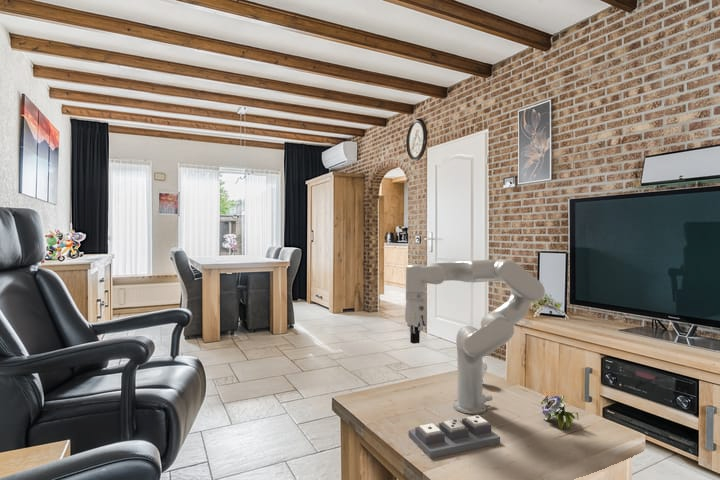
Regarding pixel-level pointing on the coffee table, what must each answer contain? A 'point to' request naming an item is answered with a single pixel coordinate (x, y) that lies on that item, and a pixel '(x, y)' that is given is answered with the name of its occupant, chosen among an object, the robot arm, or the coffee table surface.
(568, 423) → the passion flower
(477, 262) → the robot arm
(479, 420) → the two-dot tile
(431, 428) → the one-dot tile
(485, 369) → the light bulb
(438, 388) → the coffee table surface
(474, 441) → the key board
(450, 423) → the three-dot tile
